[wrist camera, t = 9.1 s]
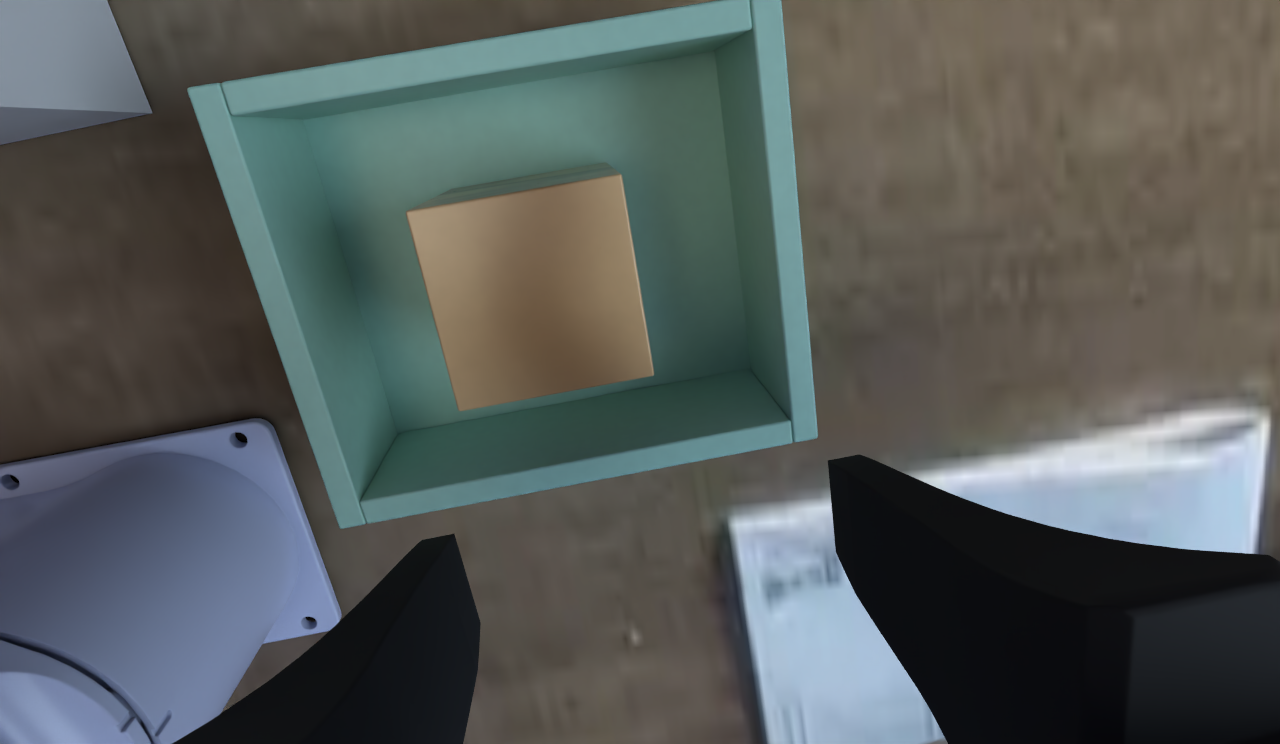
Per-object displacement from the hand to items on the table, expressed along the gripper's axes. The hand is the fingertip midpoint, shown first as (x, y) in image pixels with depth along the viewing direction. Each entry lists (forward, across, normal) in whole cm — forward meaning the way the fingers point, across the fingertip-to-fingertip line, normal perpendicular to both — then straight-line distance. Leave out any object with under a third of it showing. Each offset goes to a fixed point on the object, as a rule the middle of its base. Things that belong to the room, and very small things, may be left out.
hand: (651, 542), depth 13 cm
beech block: (+10, +2, -4) cm, 11 cm away
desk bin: (+10, +2, -4) cm, 11 cm away
